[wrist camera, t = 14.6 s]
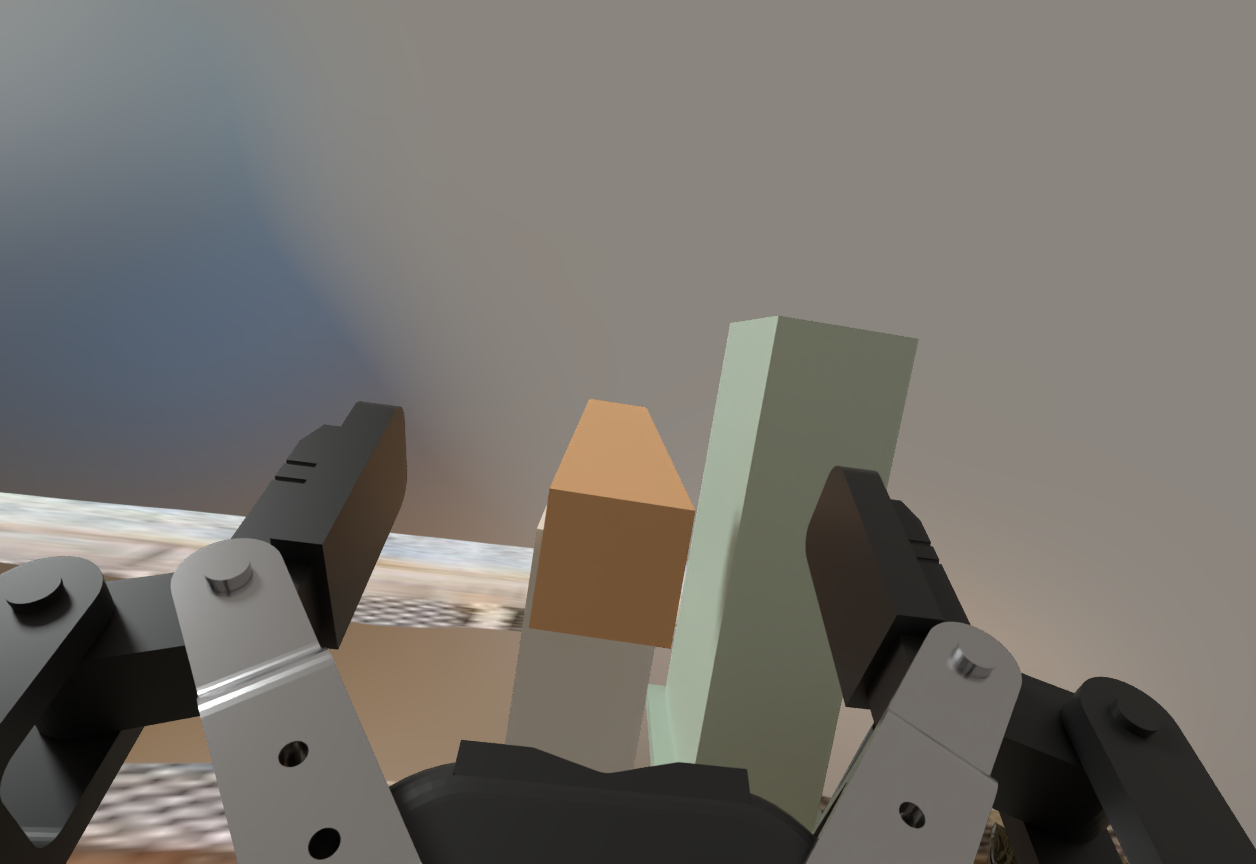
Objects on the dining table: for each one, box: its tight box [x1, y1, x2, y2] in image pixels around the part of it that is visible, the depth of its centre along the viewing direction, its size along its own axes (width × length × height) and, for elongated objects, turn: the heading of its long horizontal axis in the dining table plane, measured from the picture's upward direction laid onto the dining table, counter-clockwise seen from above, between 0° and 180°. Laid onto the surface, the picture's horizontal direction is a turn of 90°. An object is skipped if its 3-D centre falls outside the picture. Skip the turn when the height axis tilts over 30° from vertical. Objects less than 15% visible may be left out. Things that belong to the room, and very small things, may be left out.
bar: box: [529, 399, 695, 649], centre depth 29 cm, size 4×26×4 cm, turn 1°
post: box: [505, 506, 655, 773], centre depth 32 cm, size 5×10×22 cm, turn 2°
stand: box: [645, 316, 918, 833], centre depth 48 cm, size 11×18×32 cm, turn 2°
